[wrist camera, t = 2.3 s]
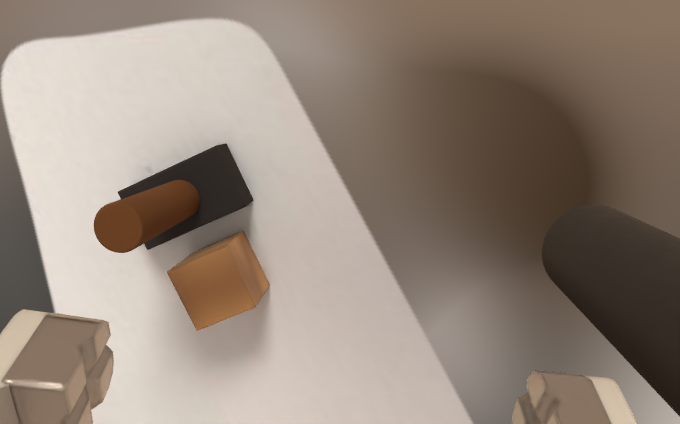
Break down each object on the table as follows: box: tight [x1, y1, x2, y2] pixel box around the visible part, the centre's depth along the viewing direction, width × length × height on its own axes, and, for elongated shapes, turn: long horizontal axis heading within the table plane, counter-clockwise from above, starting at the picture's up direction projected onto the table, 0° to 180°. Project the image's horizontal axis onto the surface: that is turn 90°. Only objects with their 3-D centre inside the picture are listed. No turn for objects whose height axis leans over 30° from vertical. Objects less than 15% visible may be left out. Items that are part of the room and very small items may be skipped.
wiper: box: [94, 144, 253, 253], centre depth 30 cm, size 4×7×10 cm, turn 114°
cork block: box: [167, 231, 269, 330], centre depth 34 cm, size 4×4×4 cm
